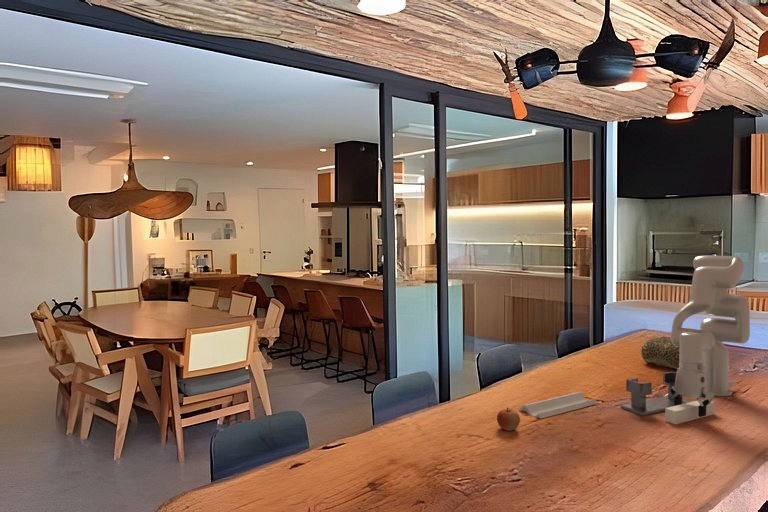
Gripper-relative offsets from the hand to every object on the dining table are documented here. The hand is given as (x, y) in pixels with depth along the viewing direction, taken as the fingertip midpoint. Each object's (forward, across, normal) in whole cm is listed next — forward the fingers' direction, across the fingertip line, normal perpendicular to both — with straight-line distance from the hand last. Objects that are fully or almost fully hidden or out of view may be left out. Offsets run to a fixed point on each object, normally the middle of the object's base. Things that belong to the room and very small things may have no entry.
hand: (689, 412), depth 204 cm
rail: (+2, 0, 0) cm, 2 cm away
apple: (+3, +20, +67) cm, 70 cm away
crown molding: (+3, +31, +35) cm, 47 cm away
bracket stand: (+2, +14, 0) cm, 14 cm away
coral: (+2, +56, -58) cm, 80 cm away
